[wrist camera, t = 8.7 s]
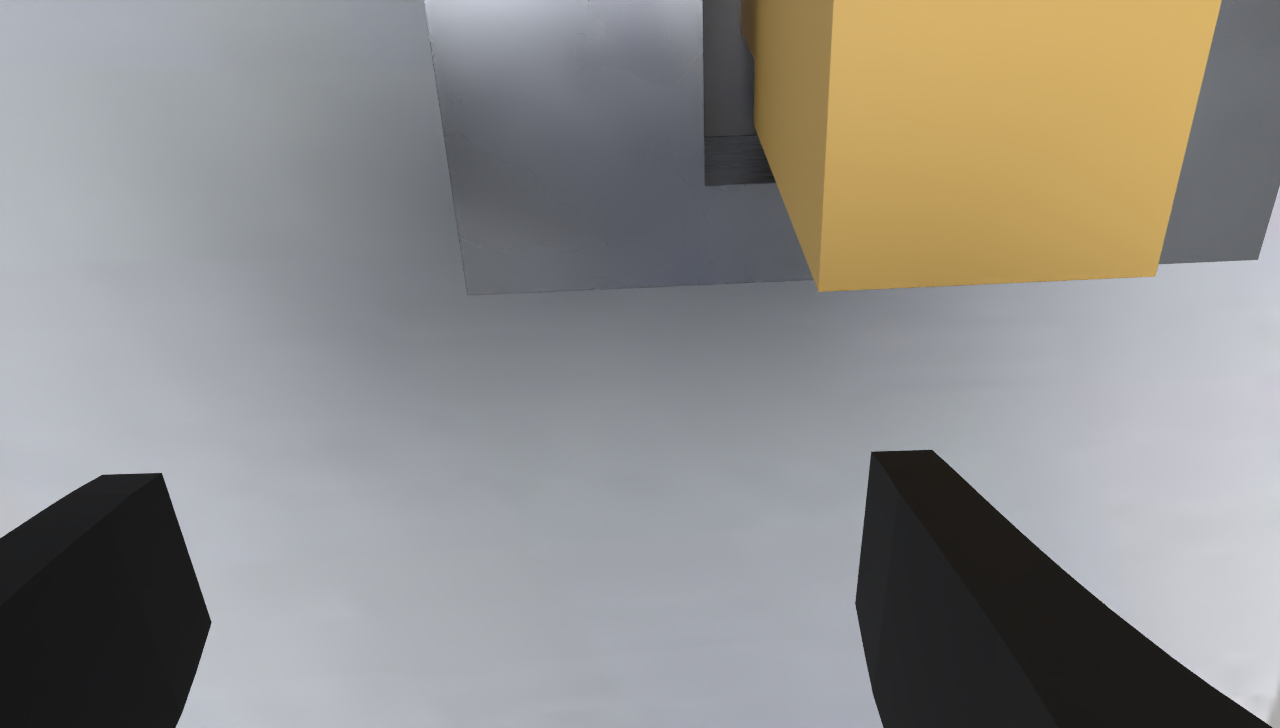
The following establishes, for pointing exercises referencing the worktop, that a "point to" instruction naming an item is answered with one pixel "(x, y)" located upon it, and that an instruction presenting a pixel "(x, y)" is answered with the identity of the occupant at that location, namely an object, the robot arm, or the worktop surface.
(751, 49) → the tan rectangular block
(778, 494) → the worktop surface
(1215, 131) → the recessed gray tray
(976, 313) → the worktop surface
